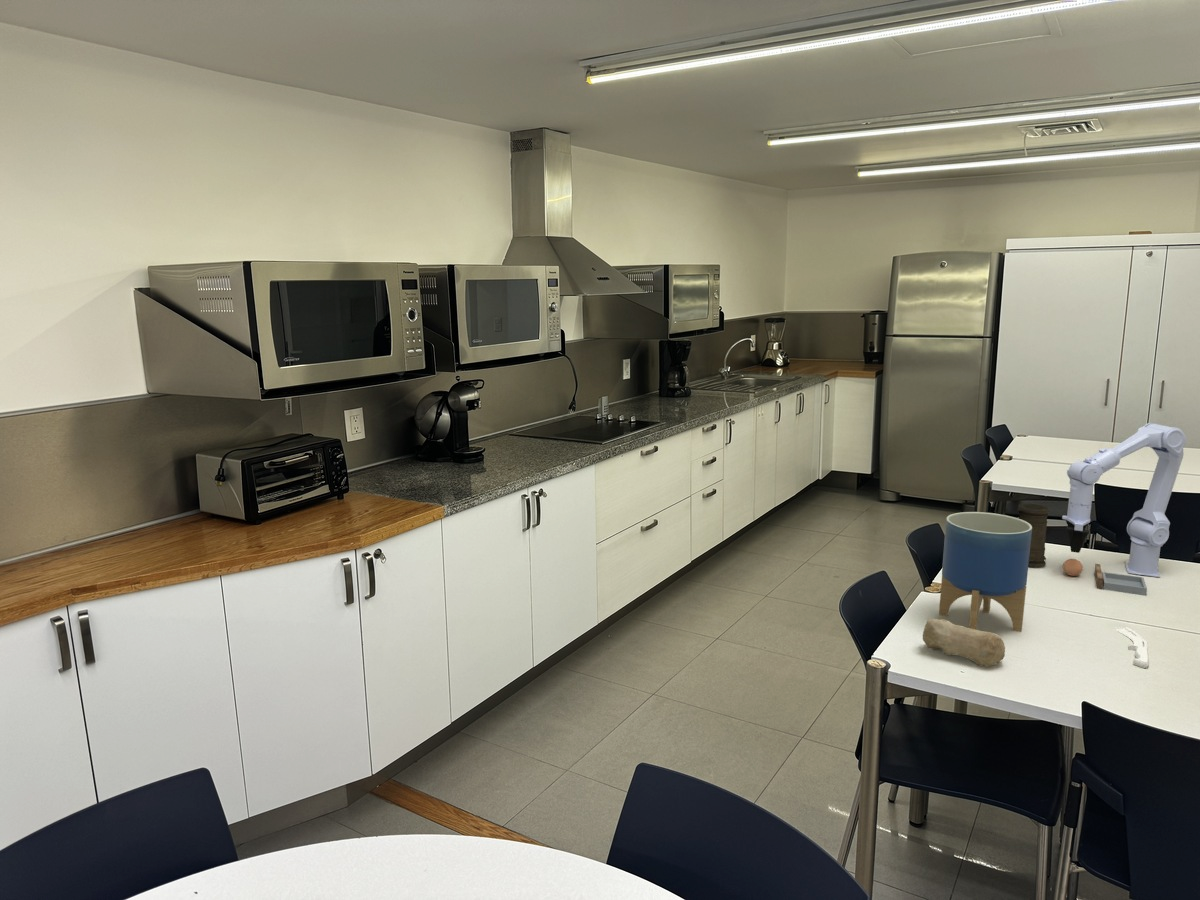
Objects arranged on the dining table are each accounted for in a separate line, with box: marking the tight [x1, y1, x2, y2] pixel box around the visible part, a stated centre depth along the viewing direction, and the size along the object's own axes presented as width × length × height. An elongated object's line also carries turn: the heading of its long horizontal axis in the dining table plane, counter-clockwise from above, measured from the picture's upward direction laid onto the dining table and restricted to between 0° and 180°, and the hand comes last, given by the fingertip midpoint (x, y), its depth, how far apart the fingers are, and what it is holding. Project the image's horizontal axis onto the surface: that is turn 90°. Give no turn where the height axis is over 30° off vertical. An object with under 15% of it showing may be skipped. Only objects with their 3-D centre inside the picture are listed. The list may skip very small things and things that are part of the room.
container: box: [1017, 503, 1050, 569], centre depth 249 cm, size 9×9×18 cm
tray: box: [1102, 571, 1148, 596], centre depth 230 cm, size 10×10×2 cm
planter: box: [938, 511, 1032, 633], centre depth 204 cm, size 19×19×26 cm
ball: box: [1062, 558, 1084, 577], centre depth 239 cm, size 5×5×5 cm
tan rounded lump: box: [922, 618, 1006, 667], centre depth 187 cm, size 9×17×10 cm
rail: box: [1093, 563, 1103, 590], centre depth 235 cm, size 14×1×3 cm, turn 152°
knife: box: [1115, 626, 1150, 669], centre depth 195 cm, size 30×2×8 cm
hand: (1074, 548), depth 238 cm, fingers open, 7 cm apart
